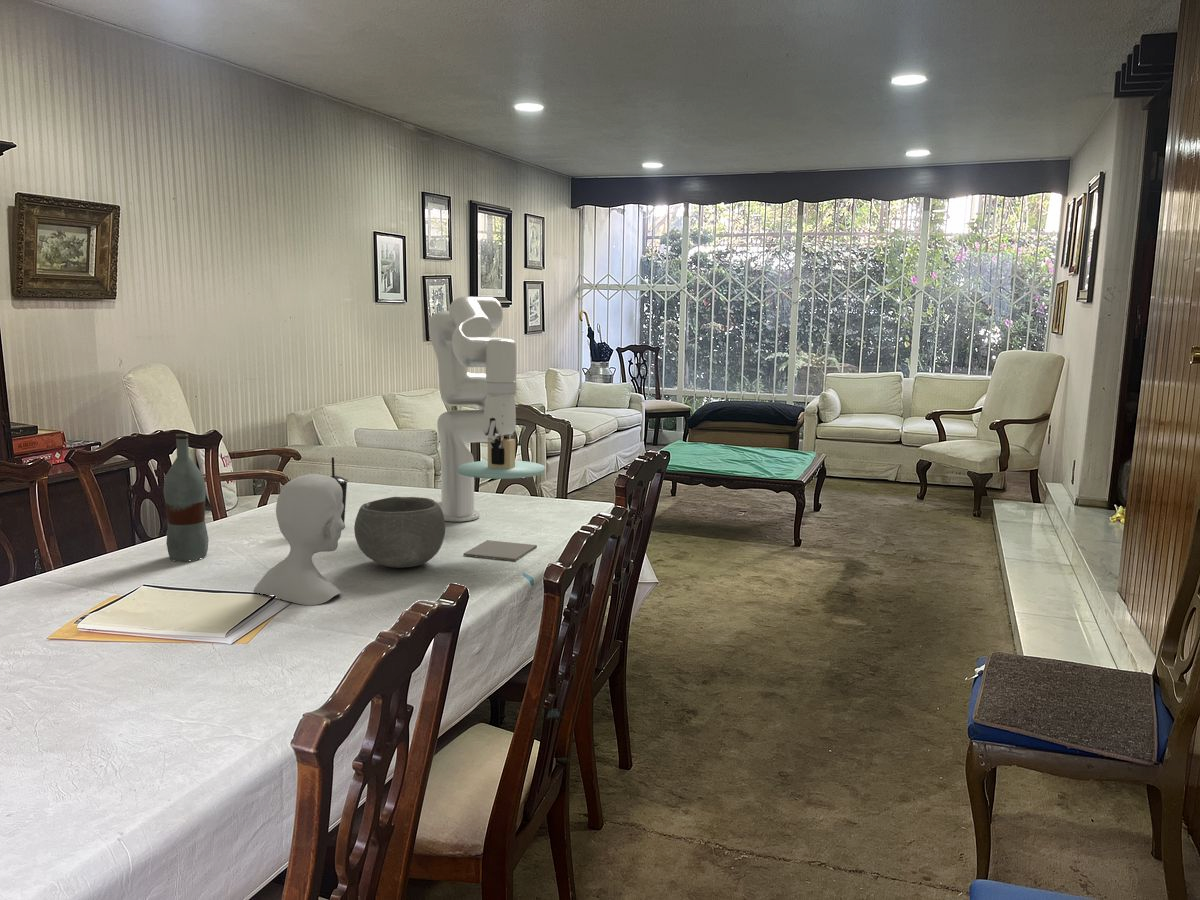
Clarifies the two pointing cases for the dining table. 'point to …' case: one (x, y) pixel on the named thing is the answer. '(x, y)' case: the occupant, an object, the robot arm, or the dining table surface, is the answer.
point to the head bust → (305, 539)
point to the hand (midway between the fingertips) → (501, 462)
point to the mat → (500, 550)
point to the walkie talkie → (343, 485)
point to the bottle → (185, 506)
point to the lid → (502, 471)
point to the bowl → (400, 530)
